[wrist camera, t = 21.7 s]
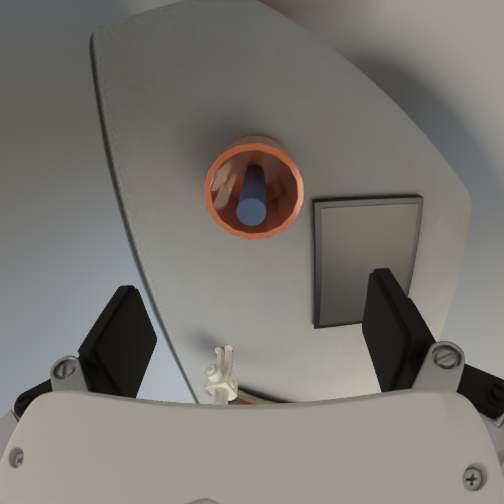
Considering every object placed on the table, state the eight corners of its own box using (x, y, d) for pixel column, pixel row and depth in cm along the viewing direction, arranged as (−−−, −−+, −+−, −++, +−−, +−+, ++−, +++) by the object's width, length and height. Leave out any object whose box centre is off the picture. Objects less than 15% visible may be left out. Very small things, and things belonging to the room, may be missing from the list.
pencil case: (273, 425, 59) (273, 442, 55) (207, 392, 53) (203, 412, 49) (310, 408, 56) (312, 427, 51) (244, 371, 50) (243, 393, 45)
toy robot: (226, 367, 49) (219, 424, 39) (205, 340, 46) (192, 399, 35) (246, 363, 48) (243, 421, 38) (226, 334, 45) (217, 395, 35)
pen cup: (213, 139, 32) (197, 151, 24) (290, 132, 31) (300, 140, 23) (223, 210, 36) (212, 242, 28) (295, 204, 35) (306, 234, 27)
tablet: (312, 199, 35) (314, 202, 34) (419, 194, 33) (423, 197, 32) (313, 324, 44) (314, 329, 43) (400, 313, 43) (403, 317, 42)
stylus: (244, 165, 32) (234, 199, 21) (263, 163, 32) (265, 196, 21) (246, 183, 33) (238, 227, 22) (265, 182, 33) (267, 224, 22)
